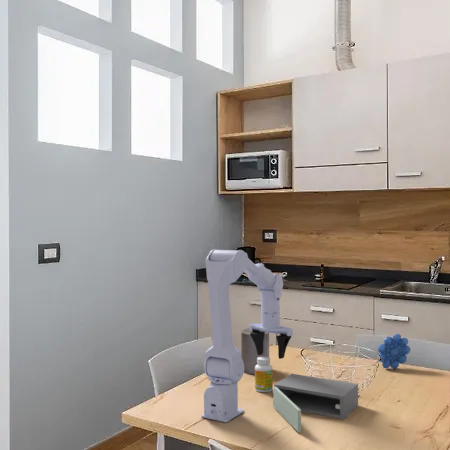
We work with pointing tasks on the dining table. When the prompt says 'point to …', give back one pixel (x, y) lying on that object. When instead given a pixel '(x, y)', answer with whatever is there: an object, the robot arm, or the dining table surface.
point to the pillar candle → (252, 350)
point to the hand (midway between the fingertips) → (270, 356)
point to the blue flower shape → (393, 351)
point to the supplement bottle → (263, 375)
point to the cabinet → (320, 395)
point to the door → (287, 409)
